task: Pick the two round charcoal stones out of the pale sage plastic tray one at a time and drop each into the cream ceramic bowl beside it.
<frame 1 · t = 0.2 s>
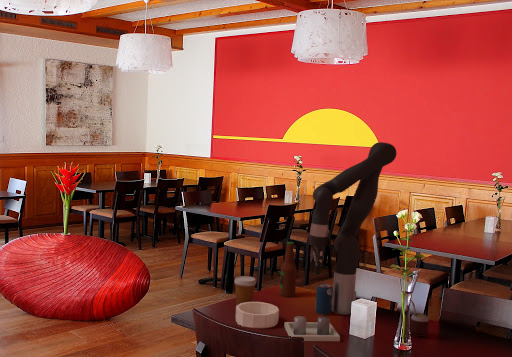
hand: (315, 272, 242), 17 cm above the table, tool pointing down, fingers open, 8 cm apart
bowl: (256, 321, 228), on the table
stone 1: (322, 333, 217), resting on tray
tray: (311, 334, 216), on the table
soda can: (323, 313, 243), on the table
mate gourd: (417, 336, 221), on the table
disposable coffee cup: (243, 306, 247), on the table
bottle: (287, 295, 267), on the table
stone 2: (299, 333, 216), resting on tray
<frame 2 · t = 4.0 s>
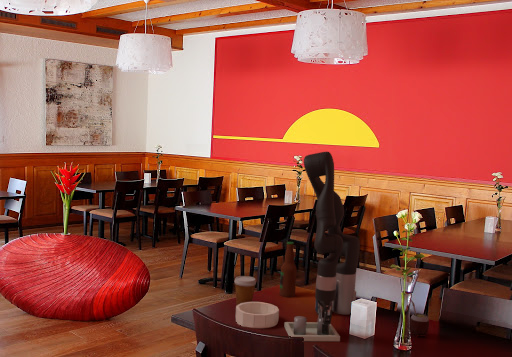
hand: (323, 330, 217), 2 cm above the table, tool pointing down, fingers closed on stone 1, 4 cm apart
stone 1: (322, 333, 217), resting on tray, touching gripper
everything else where it was.
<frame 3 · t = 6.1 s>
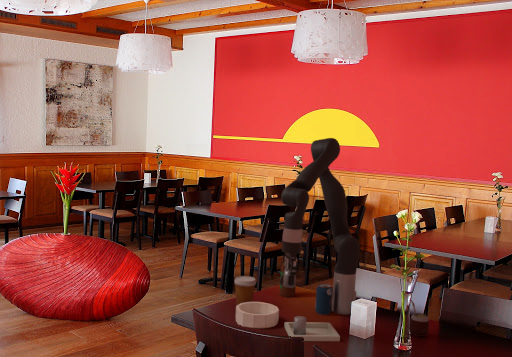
hand: (289, 283, 221), 18 cm above the table, tool pointing down, fingers closed on stone 1, 4 cm apart
stone 1: (289, 286, 221), point 16 cm above the table, touching gripper
everything else where it was.
when the fingers open (8 cm above the table, at t = 8.2 s): stone 1 drops 5 cm, resting on bowl.
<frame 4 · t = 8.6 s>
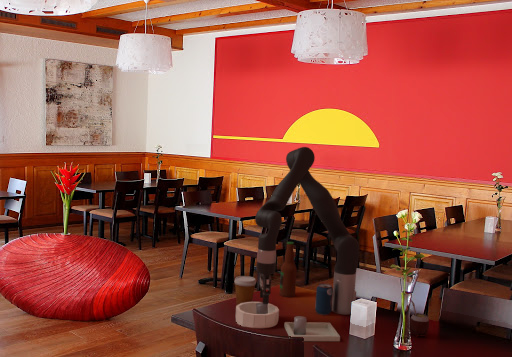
hand: (264, 300, 227), 9 cm above the table, tool pointing down, fingers open, 8 cm apart
stone 1: (262, 318, 228), point 1 cm above the table, tilted 6°, touching bowl
everything else where it was.
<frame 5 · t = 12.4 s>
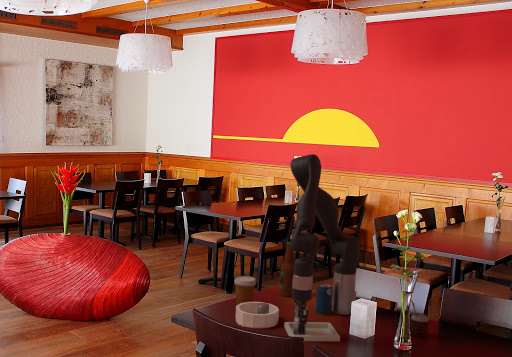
hand: (299, 330, 215), 2 cm above the table, tool pointing down, fingers closed on stone 2, 4 cm apart
stone 1: (262, 319, 228), point 1 cm above the table, touching bowl
stone 2: (299, 333, 215), resting on tray, touching gripper
everything else where it was.
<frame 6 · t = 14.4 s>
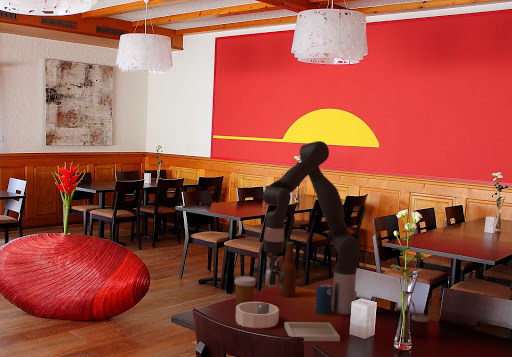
hand: (271, 282, 221), 18 cm above the table, tool pointing down, fingers closed on stone 2, 4 cm apart
stone 2: (270, 285, 221), point 16 cm above the table, touching gripper
everything else where it was.
when the fingers open (8 cm above the table, at t = 16.4 s): stone 2 drops 6 cm, resting on bowl.
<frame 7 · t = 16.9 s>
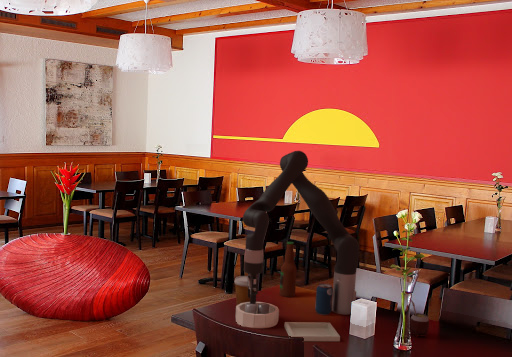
hand: (251, 300, 226), 9 cm above the table, tool pointing down, fingers open, 8 cm apart
stone 2: (250, 319, 227), point 1 cm above the table, touching bowl
everything else where it was.
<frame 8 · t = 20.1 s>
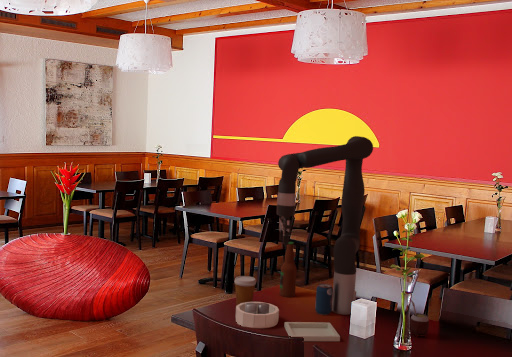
hand: (283, 242, 236), 30 cm above the table, tool pointing down, fingers open, 8 cm apart
nothing on the table moved.
at the end: stone 1 inside the target area on the bowl (2.3 cm from its centre), point 1.0 cm above the bowl's base; stone 2 inside the target area on the bowl (2.5 cm from its centre), point 1.0 cm above the bowl's base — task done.
